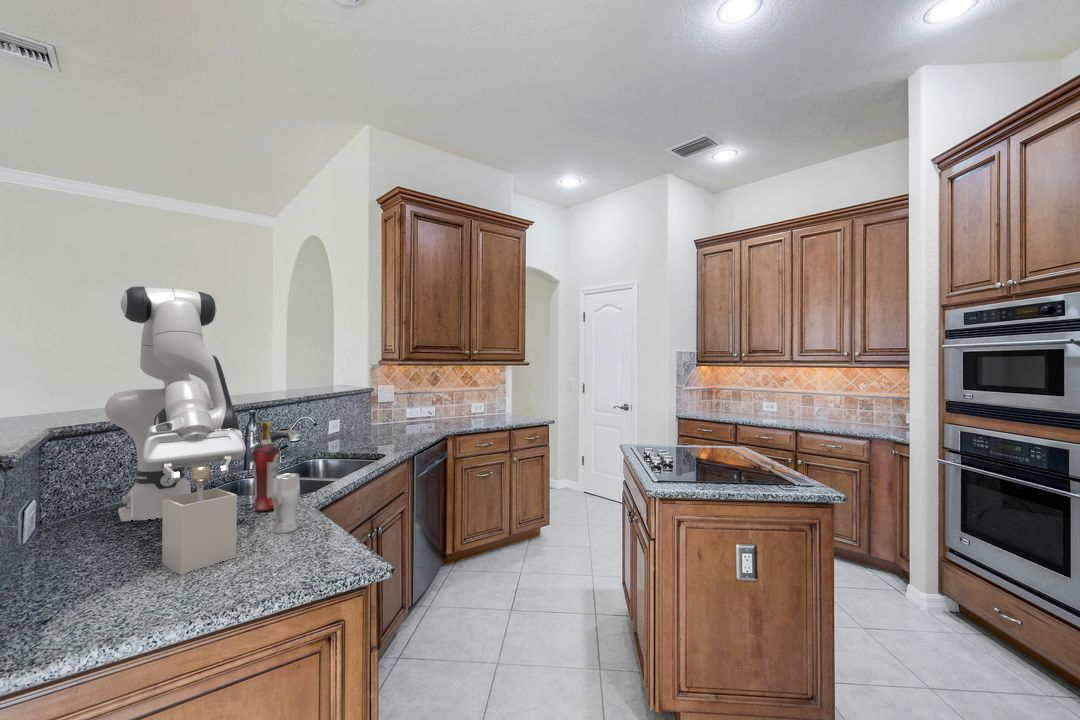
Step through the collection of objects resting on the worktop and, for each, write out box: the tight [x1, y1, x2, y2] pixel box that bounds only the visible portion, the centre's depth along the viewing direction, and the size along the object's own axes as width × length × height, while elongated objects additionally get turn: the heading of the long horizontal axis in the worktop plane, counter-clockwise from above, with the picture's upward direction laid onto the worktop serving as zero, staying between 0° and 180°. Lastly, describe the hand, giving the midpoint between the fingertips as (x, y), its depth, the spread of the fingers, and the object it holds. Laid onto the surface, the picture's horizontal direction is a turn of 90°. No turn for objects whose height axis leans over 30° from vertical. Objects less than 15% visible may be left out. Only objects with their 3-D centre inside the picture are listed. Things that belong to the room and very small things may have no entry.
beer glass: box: [272, 472, 301, 534], centre depth 128 cm, size 7×7×15 cm
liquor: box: [252, 421, 280, 512], centre depth 147 cm, size 7×7×28 cm
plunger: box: [190, 464, 211, 502], centre depth 108 cm, size 9×9×19 cm
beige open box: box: [161, 487, 238, 576], centre depth 108 cm, size 11×11×15 cm
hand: (200, 477), depth 108 cm, fingers open, 8 cm apart
